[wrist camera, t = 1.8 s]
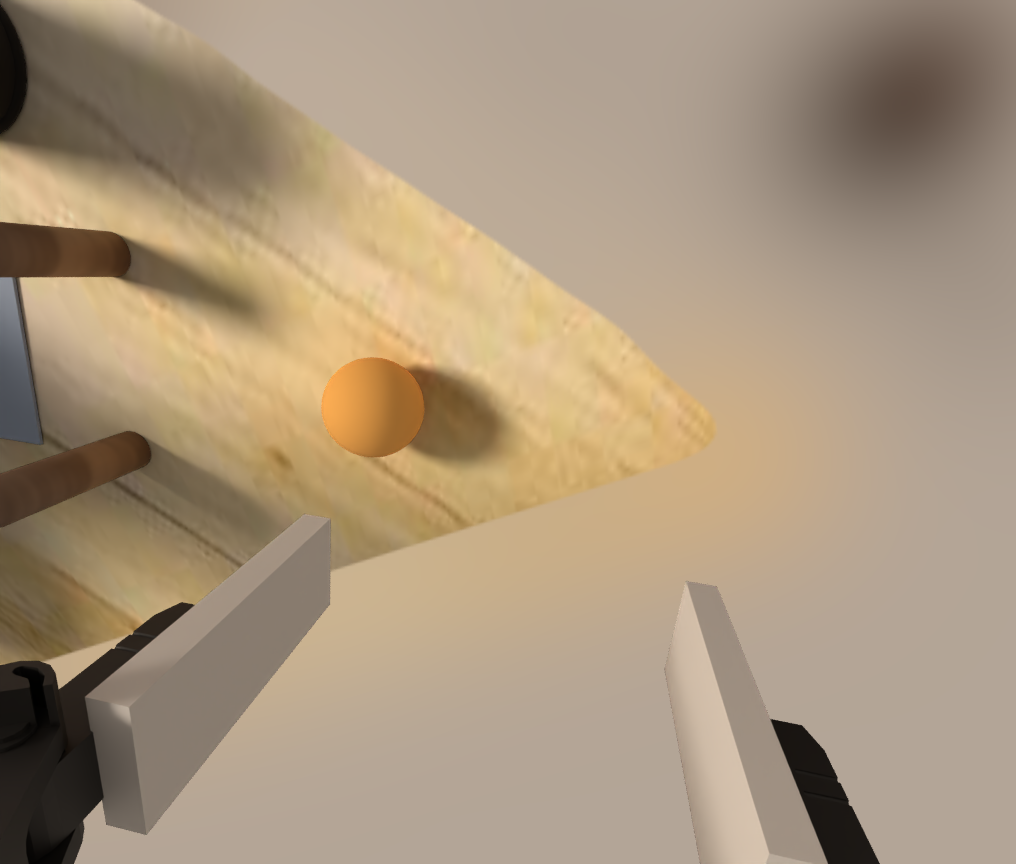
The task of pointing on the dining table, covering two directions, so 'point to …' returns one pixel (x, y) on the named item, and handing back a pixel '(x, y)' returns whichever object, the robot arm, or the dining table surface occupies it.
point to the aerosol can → (10, 73)
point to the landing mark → (15, 372)
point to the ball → (372, 407)
